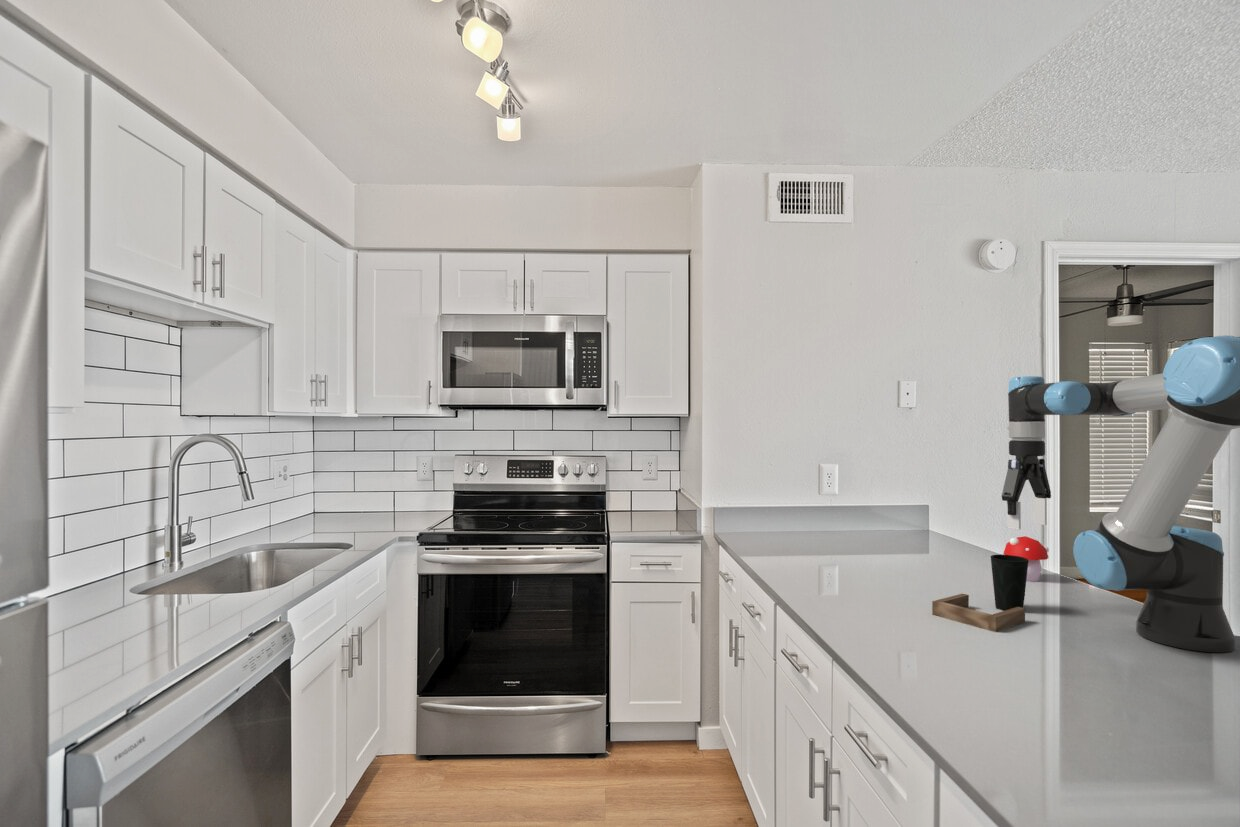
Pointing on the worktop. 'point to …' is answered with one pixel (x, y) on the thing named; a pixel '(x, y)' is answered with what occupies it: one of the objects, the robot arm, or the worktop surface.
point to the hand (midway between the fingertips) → (1027, 526)
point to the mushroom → (1028, 554)
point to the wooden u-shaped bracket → (976, 614)
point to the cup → (1009, 580)
